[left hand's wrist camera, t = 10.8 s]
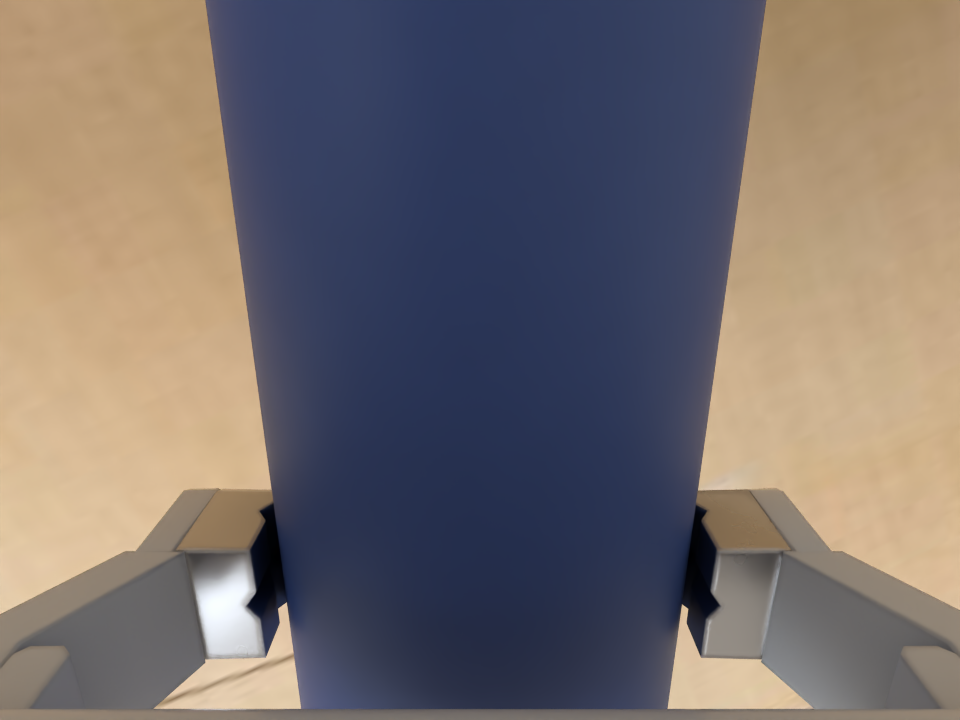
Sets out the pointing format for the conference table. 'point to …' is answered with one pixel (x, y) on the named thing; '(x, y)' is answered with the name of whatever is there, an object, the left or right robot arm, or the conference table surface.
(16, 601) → the conference table surface
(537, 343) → the rod
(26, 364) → the conference table surface
